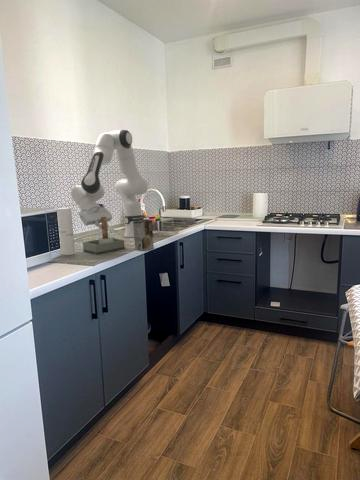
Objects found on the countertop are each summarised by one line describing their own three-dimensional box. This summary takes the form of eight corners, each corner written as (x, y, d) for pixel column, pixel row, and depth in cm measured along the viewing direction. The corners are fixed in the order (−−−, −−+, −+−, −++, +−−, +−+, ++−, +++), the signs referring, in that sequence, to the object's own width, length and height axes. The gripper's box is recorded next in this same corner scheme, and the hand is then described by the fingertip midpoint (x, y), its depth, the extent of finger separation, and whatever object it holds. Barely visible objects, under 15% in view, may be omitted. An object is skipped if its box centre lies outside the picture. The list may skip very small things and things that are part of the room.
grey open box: (110, 245, 216) (109, 234, 214) (124, 248, 205) (123, 236, 204) (83, 250, 204) (82, 238, 202) (96, 254, 193) (95, 241, 192)
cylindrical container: (63, 252, 201) (59, 207, 196) (76, 251, 201) (72, 207, 197) (60, 255, 194) (55, 209, 189) (73, 254, 194) (69, 208, 190)
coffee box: (145, 247, 207) (144, 219, 204) (154, 248, 203) (152, 220, 200) (134, 250, 200) (132, 221, 198) (142, 251, 196) (140, 222, 194)
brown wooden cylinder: (106, 239, 203) (104, 216, 201) (109, 240, 201) (107, 217, 199) (101, 240, 201) (100, 217, 199) (104, 240, 199) (103, 217, 197)
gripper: (79, 207, 193) (93, 226, 190) (105, 204, 210) (119, 221, 207) (74, 215, 196) (88, 234, 193) (100, 211, 213) (114, 228, 210)
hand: (104, 227), depth 200 cm, fingers closed on brown wooden cylinder, 3 cm apart
